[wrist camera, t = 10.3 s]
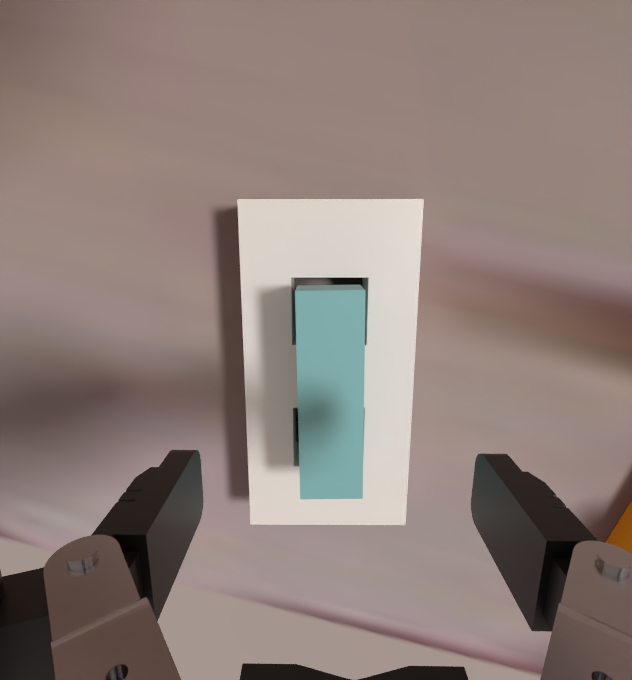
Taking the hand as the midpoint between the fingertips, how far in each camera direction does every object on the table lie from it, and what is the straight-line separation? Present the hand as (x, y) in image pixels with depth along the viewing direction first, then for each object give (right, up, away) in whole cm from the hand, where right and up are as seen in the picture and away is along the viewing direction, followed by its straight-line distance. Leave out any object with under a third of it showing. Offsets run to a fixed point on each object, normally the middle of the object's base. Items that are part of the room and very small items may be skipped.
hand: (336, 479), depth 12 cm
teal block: (0, +3, +13) cm, 13 cm away
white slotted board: (0, +3, +13) cm, 13 cm away
